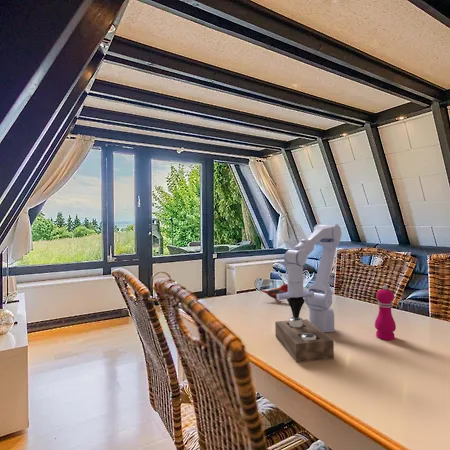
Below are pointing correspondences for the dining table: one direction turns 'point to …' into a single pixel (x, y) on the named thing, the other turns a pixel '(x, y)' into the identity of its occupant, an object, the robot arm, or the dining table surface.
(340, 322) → the dining table surface
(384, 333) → the pepper mill
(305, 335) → the knob
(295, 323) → the knob
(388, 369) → the dining table surface
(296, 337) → the housing
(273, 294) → the decorative bird figurine
